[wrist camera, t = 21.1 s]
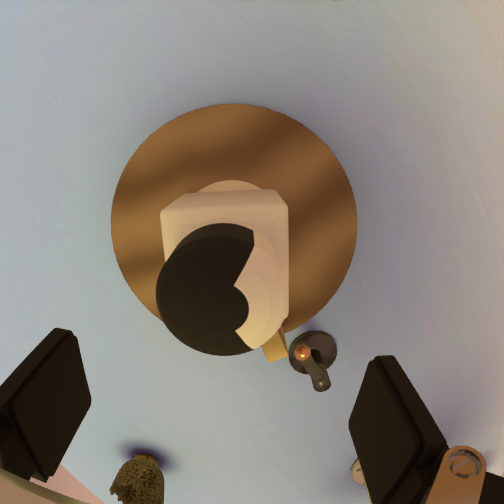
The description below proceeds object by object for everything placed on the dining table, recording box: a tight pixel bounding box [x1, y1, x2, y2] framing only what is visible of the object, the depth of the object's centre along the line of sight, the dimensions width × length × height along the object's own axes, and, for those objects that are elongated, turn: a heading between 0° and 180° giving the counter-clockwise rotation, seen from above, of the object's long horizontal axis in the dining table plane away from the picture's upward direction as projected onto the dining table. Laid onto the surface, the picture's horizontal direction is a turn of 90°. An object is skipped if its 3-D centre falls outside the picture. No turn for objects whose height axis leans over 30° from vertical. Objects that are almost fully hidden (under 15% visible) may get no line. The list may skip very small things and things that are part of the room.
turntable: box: [111, 104, 357, 362], centre depth 24 cm, size 20×20×6 cm
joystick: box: [288, 331, 337, 392], centre depth 30 cm, size 7×5×6 cm
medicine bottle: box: [156, 189, 289, 356], centre depth 19 cm, size 7×7×12 cm
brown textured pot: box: [109, 453, 164, 504], centre depth 35 cm, size 8×7×8 cm
